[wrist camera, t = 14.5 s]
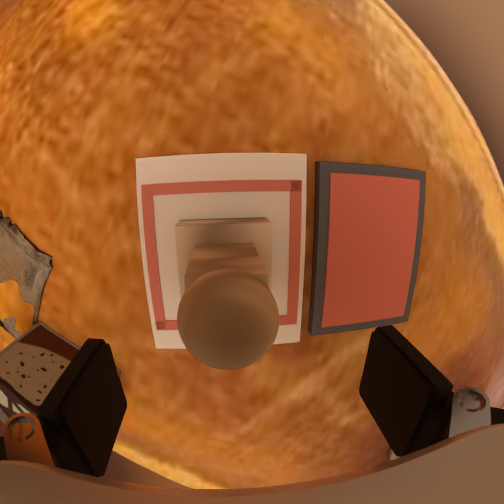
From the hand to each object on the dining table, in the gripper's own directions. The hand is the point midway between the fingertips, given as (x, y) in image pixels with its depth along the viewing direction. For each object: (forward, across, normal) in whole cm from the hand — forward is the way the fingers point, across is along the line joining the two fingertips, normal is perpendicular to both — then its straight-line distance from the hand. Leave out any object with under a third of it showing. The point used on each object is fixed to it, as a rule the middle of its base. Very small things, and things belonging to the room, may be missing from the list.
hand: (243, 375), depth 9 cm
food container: (+14, +17, +10) cm, 24 cm away
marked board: (+13, +1, -1) cm, 13 cm away
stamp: (+12, +1, -1) cm, 12 cm away
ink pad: (+14, -11, -1) cm, 18 cm away
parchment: (+14, +24, 0) cm, 27 cm away
